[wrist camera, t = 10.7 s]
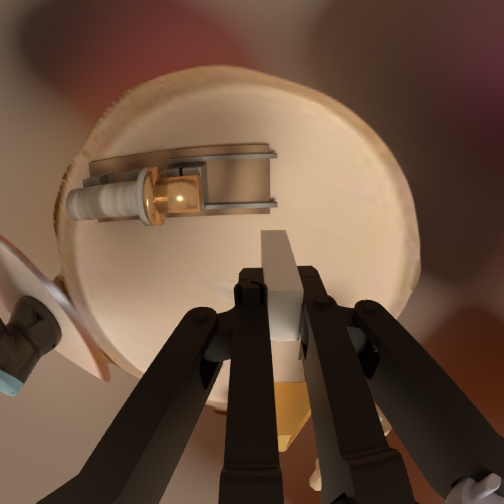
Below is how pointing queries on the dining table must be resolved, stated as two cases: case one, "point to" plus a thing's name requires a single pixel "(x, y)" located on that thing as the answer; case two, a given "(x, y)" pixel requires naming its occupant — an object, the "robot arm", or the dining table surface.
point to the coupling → (174, 191)
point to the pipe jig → (135, 166)
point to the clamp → (290, 411)
